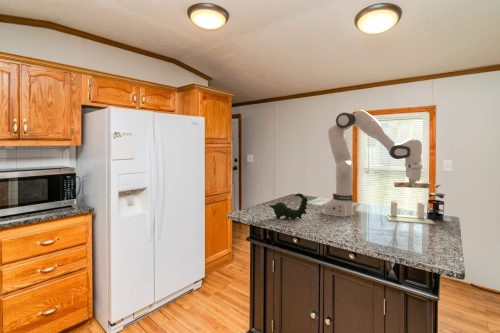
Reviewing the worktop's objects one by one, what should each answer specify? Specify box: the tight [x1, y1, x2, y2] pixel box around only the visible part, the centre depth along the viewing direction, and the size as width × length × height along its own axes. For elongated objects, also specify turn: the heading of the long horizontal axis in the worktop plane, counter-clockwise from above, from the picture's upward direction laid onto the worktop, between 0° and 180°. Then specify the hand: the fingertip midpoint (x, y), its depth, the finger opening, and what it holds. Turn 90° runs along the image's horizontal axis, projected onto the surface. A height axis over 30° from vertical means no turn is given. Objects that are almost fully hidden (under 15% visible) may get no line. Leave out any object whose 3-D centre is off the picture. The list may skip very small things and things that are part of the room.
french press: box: [426, 184, 446, 222], centre depth 177 cm, size 12×9×23 cm
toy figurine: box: [269, 192, 308, 220], centre depth 180 cm, size 9×19×25 cm
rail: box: [393, 181, 432, 189], centre depth 171 cm, size 20×3×3 cm, turn 72°
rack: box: [388, 200, 427, 219], centre depth 182 cm, size 22×5×10 cm, turn 72°
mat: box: [386, 216, 436, 225], centre depth 174 cm, size 26×8×1 cm, turn 72°
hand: (411, 185), depth 171 cm, fingers closed on rail, 3 cm apart
